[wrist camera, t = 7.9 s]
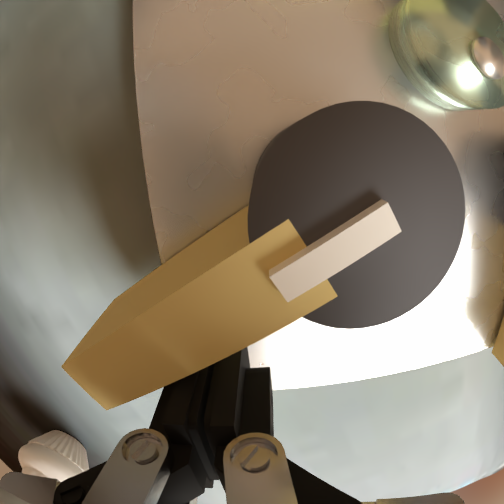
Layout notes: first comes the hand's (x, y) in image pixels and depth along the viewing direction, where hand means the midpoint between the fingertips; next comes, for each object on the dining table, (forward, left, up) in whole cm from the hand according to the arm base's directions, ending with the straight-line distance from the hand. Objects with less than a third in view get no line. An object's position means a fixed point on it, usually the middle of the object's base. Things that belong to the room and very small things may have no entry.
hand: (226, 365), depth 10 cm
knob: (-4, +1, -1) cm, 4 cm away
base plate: (-8, +8, -3) cm, 12 cm away
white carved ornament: (+12, -15, -3) cm, 19 cm away
